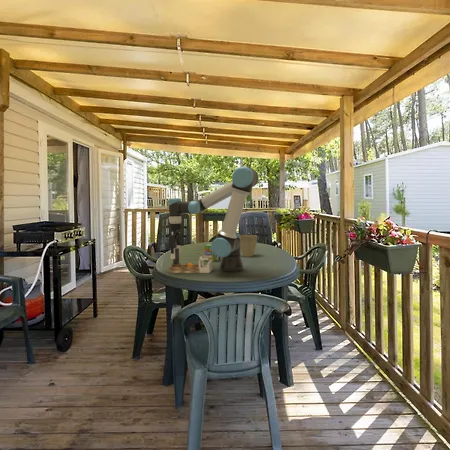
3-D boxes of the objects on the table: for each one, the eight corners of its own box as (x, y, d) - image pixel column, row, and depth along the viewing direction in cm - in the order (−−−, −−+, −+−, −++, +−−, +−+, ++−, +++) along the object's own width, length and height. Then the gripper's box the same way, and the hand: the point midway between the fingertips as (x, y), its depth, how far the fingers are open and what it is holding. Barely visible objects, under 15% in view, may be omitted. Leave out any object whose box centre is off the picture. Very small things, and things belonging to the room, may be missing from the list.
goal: (212, 269, 225) (212, 255, 224) (209, 273, 215) (209, 258, 214) (202, 269, 226) (201, 255, 225) (198, 272, 216) (198, 258, 215)
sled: (180, 267, 226) (180, 248, 225) (178, 269, 220) (177, 249, 219) (174, 267, 226) (174, 247, 225) (171, 269, 220) (171, 249, 219)
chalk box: (209, 259, 265) (208, 239, 264) (220, 259, 262) (220, 239, 261) (204, 261, 256) (204, 240, 255) (216, 261, 253) (216, 241, 252)
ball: (194, 268, 223) (194, 262, 223) (192, 269, 219) (192, 263, 219) (187, 268, 224) (187, 262, 224) (186, 269, 220) (186, 263, 220)
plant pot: (239, 254, 285) (239, 234, 284) (258, 254, 282) (258, 235, 281) (236, 257, 271) (236, 236, 269) (256, 258, 268) (256, 237, 266)
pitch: (203, 269, 227) (203, 264, 226) (199, 273, 215) (199, 268, 215) (174, 268, 229) (174, 263, 229) (168, 272, 218) (168, 267, 217)
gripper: (175, 221, 234) (175, 253, 235) (163, 224, 209) (164, 260, 211) (186, 221, 233) (186, 254, 234) (175, 224, 208) (176, 260, 210)
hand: (176, 257), depth 222 cm, fingers open, 13 cm apart
